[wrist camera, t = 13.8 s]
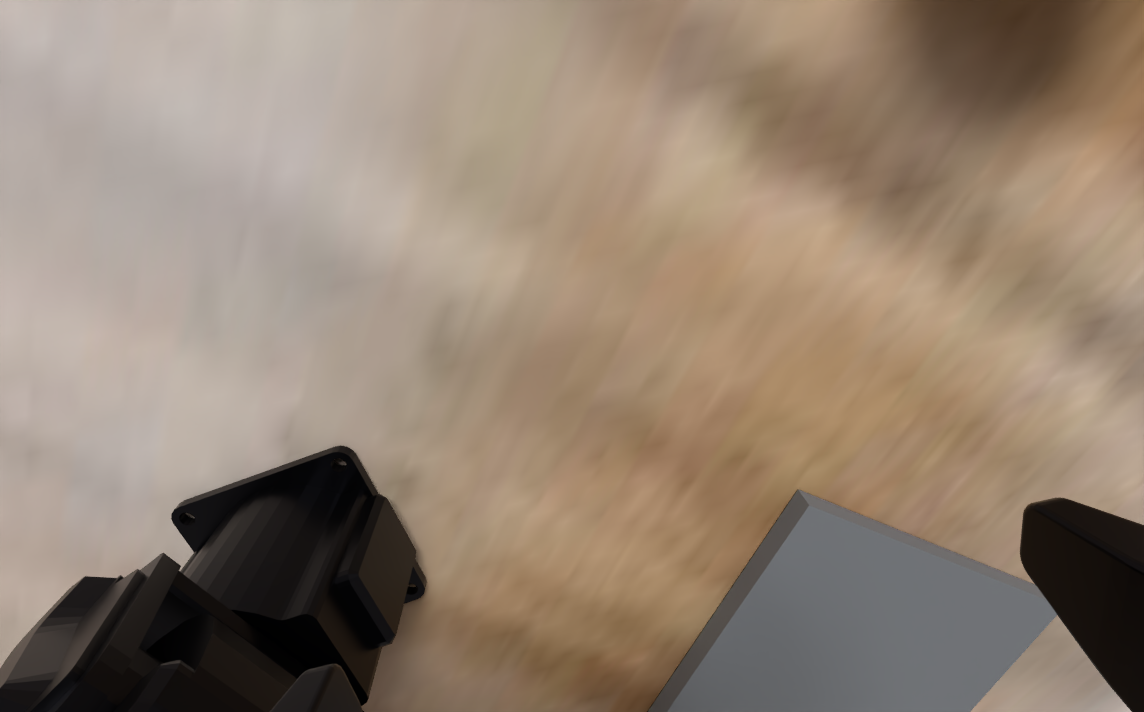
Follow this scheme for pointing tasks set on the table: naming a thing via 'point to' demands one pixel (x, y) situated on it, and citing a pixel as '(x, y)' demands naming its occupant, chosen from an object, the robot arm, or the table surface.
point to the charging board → (855, 624)
